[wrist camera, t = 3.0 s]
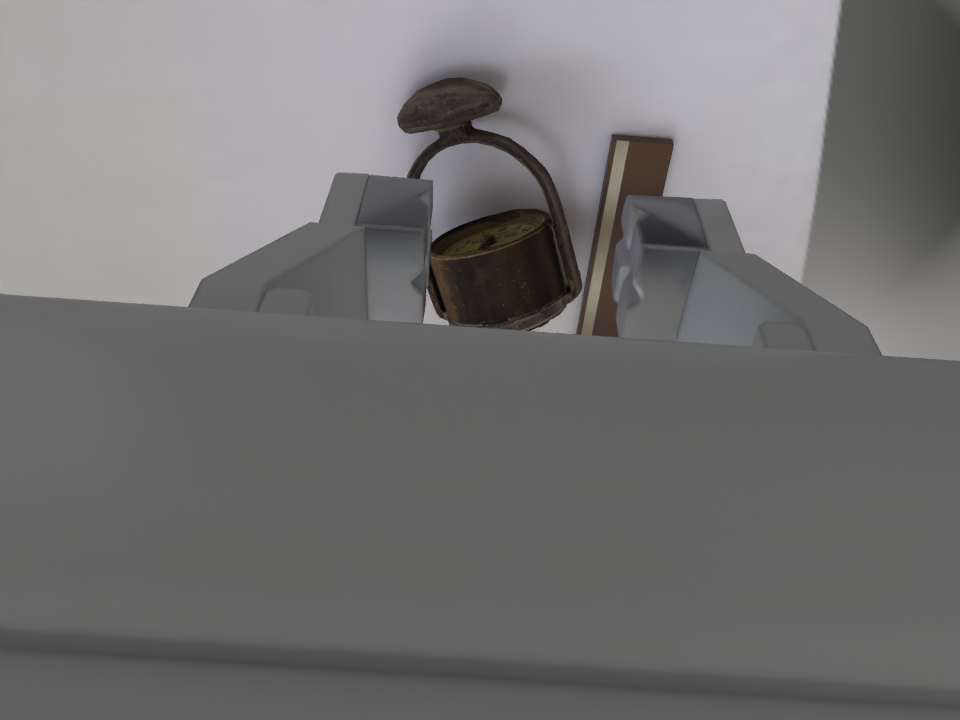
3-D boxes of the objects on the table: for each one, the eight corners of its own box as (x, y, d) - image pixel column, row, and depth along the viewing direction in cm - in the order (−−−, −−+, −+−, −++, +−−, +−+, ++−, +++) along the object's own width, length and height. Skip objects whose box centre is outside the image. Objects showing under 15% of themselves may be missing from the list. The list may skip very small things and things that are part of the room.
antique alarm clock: (372, 353, 44) (561, 392, 42) (351, 135, 35) (591, 175, 33) (415, 267, 49) (585, 300, 47) (406, 57, 39) (617, 88, 38)
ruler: (611, 134, 41) (612, 140, 41) (672, 138, 41) (674, 144, 41) (552, 464, 57) (553, 472, 56) (596, 467, 57) (597, 475, 56)
